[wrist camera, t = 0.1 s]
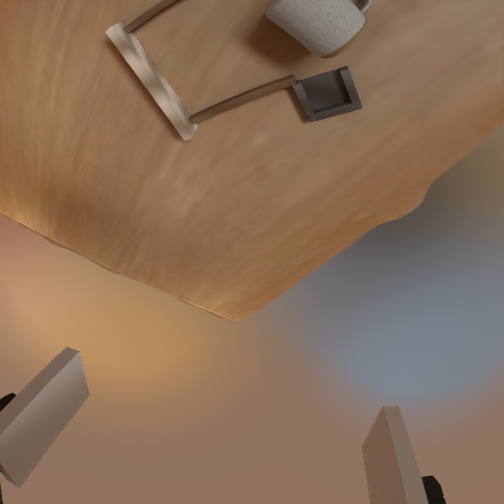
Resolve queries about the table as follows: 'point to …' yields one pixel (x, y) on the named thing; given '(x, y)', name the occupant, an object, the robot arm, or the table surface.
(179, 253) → the table surface
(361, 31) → the ceramic mug
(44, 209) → the table surface
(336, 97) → the frame with square trays
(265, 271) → the table surface
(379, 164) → the table surface
